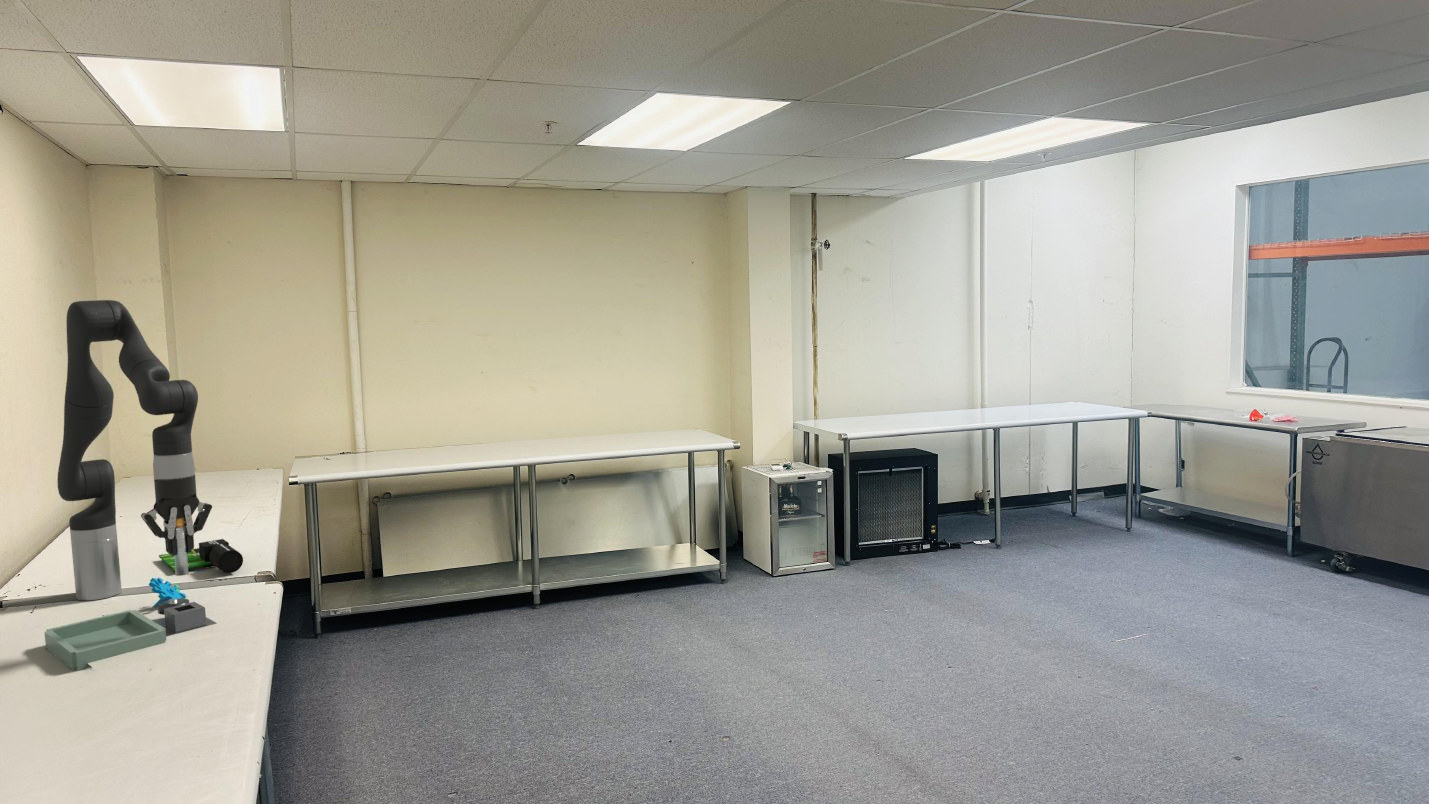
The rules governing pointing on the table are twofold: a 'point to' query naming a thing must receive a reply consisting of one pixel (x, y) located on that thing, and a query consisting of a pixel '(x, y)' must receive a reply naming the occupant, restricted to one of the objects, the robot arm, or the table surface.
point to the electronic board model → (211, 556)
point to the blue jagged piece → (165, 590)
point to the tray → (103, 638)
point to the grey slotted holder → (182, 616)
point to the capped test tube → (180, 548)
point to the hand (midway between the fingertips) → (180, 553)
